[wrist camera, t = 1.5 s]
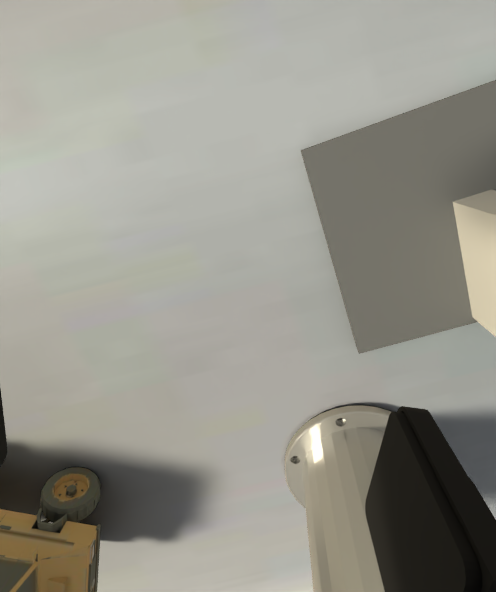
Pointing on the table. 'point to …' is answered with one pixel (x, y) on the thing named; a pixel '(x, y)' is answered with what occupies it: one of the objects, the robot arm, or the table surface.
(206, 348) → the table surface
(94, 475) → the toy car
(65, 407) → the table surface
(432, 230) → the mat
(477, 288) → the card box
